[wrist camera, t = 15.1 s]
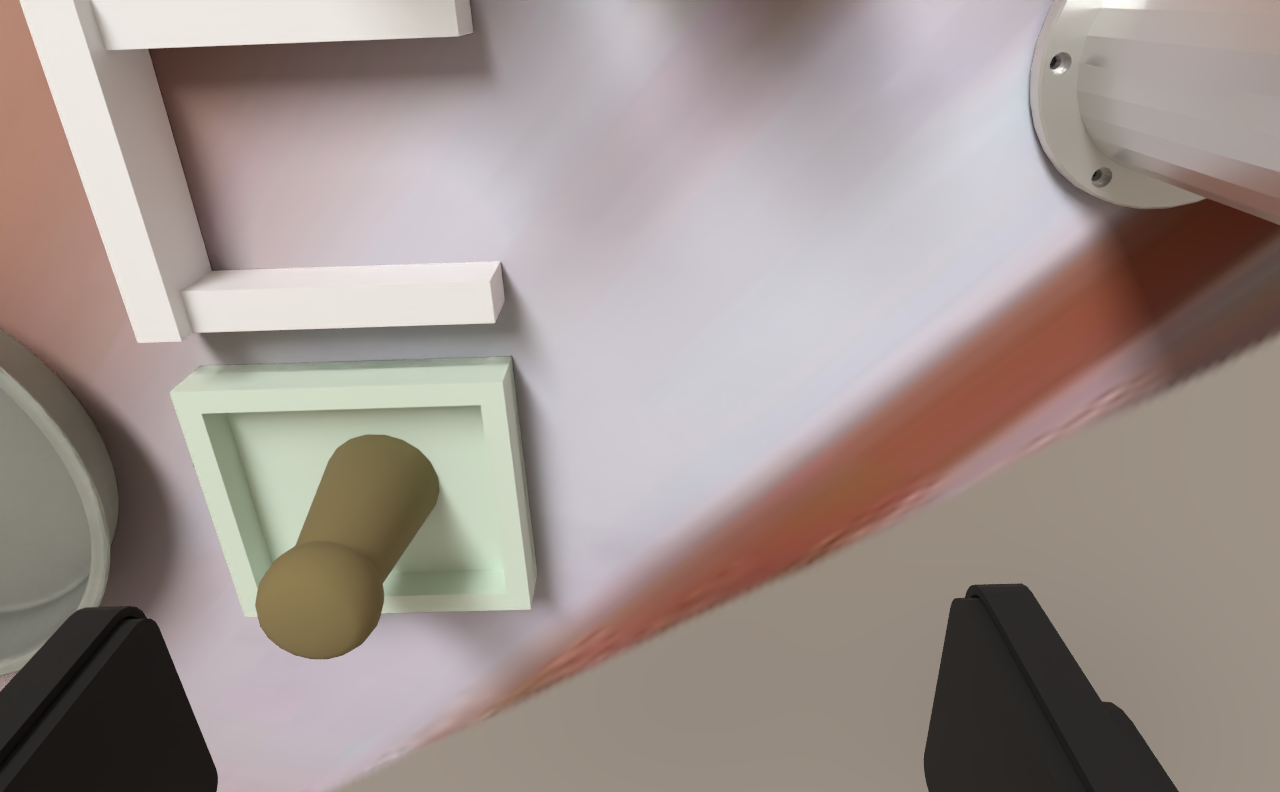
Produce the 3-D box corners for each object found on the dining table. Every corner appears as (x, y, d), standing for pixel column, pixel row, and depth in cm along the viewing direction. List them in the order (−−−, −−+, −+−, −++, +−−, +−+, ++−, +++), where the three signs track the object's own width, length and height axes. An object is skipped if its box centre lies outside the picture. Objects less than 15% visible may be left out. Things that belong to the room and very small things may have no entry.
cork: (346, 534, 45) (262, 688, 35) (310, 441, 42) (208, 579, 32) (451, 522, 44) (397, 674, 34) (422, 427, 42) (354, 562, 32)
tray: (511, 356, 41) (502, 381, 38) (537, 574, 47) (531, 609, 44) (200, 365, 41) (169, 392, 38) (267, 581, 47) (245, 616, 45)
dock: (467, -21, 33) (445, -22, 30) (505, 300, 39) (491, 331, 36) (84, -5, 33) (17, -5, 30) (183, 311, 40) (137, 342, 36)
